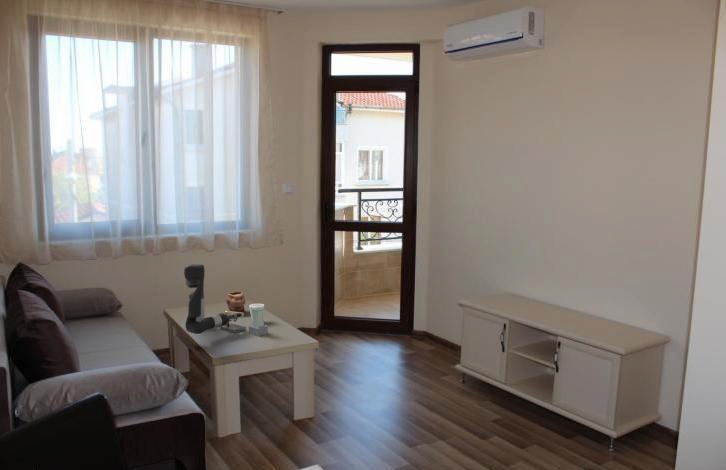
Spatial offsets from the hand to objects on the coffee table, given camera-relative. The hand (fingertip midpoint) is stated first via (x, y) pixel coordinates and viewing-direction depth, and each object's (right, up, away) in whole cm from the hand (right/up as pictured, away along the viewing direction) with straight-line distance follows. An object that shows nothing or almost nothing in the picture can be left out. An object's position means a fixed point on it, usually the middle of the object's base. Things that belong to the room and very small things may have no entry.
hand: (239, 314), depth 375 cm
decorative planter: (-11, -4, +43) cm, 45 cm away
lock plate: (-5, -10, +3) cm, 11 cm away
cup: (+7, -8, +20) cm, 23 cm away
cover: (+12, -7, -5) cm, 15 cm away
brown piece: (-4, -7, +4) cm, 9 cm away
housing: (+12, -11, -4) cm, 17 cm away
